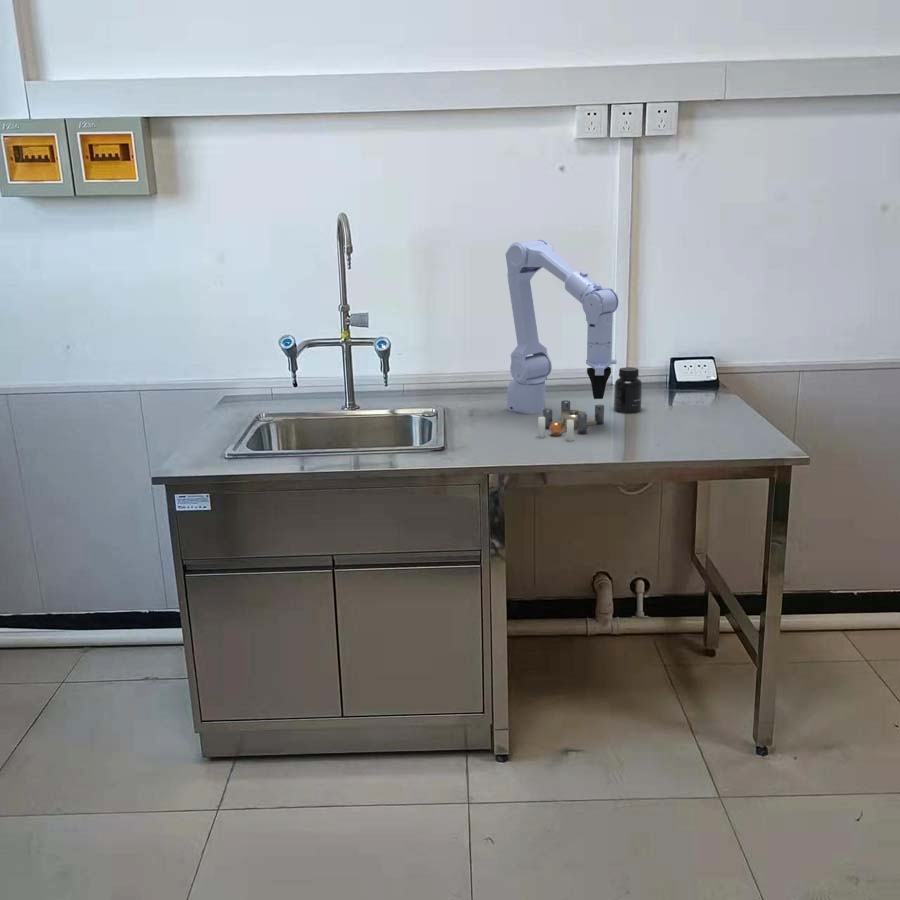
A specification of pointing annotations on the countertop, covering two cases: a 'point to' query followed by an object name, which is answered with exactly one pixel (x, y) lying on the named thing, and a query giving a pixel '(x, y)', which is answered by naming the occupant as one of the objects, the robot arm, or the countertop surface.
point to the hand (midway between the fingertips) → (598, 398)
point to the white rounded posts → (569, 428)
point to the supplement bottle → (628, 391)
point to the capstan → (575, 415)
